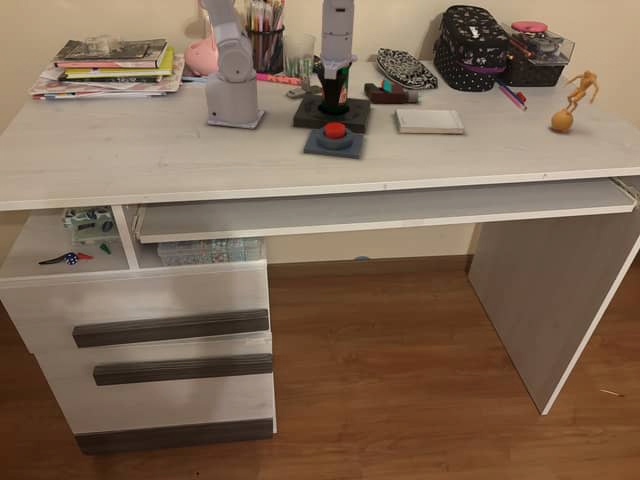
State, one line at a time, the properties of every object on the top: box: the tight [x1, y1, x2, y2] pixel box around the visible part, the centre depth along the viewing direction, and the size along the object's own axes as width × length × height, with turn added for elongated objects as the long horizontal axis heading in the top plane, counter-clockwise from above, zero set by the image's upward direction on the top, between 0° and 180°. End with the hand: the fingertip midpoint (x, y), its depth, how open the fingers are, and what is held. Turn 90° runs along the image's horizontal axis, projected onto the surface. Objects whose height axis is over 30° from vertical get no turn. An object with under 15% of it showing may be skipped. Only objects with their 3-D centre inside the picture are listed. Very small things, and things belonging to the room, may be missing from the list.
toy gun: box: [363, 78, 422, 104], centre depth 112 cm, size 10×12×5 cm
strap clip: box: [286, 73, 322, 99], centre depth 112 cm, size 8×3×4 cm, turn 129°
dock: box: [292, 93, 372, 135], centre depth 103 cm, size 14×12×2 cm
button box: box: [303, 127, 365, 160], centre depth 94 cm, size 10×8×2 cm
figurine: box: [550, 69, 600, 132], centre depth 99 cm, size 8×6×12 cm
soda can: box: [321, 63, 350, 115], centre depth 100 cm, size 5×5×12 cm
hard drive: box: [393, 108, 465, 135], centre depth 102 cm, size 2×8×12 cm
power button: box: [325, 123, 345, 139], centre depth 93 cm, size 4×4×2 cm
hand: (333, 101), depth 102 cm, fingers closed on soda can, 5 cm apart
